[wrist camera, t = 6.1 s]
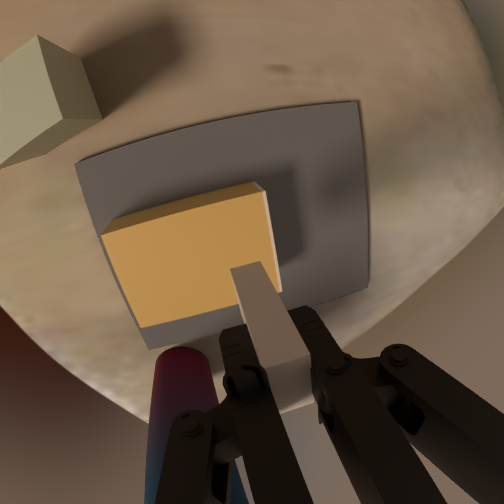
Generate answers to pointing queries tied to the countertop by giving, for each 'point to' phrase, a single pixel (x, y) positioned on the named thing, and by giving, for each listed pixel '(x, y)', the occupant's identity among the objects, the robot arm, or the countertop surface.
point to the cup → (179, 410)
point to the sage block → (42, 100)
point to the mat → (266, 176)
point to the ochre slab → (191, 252)
